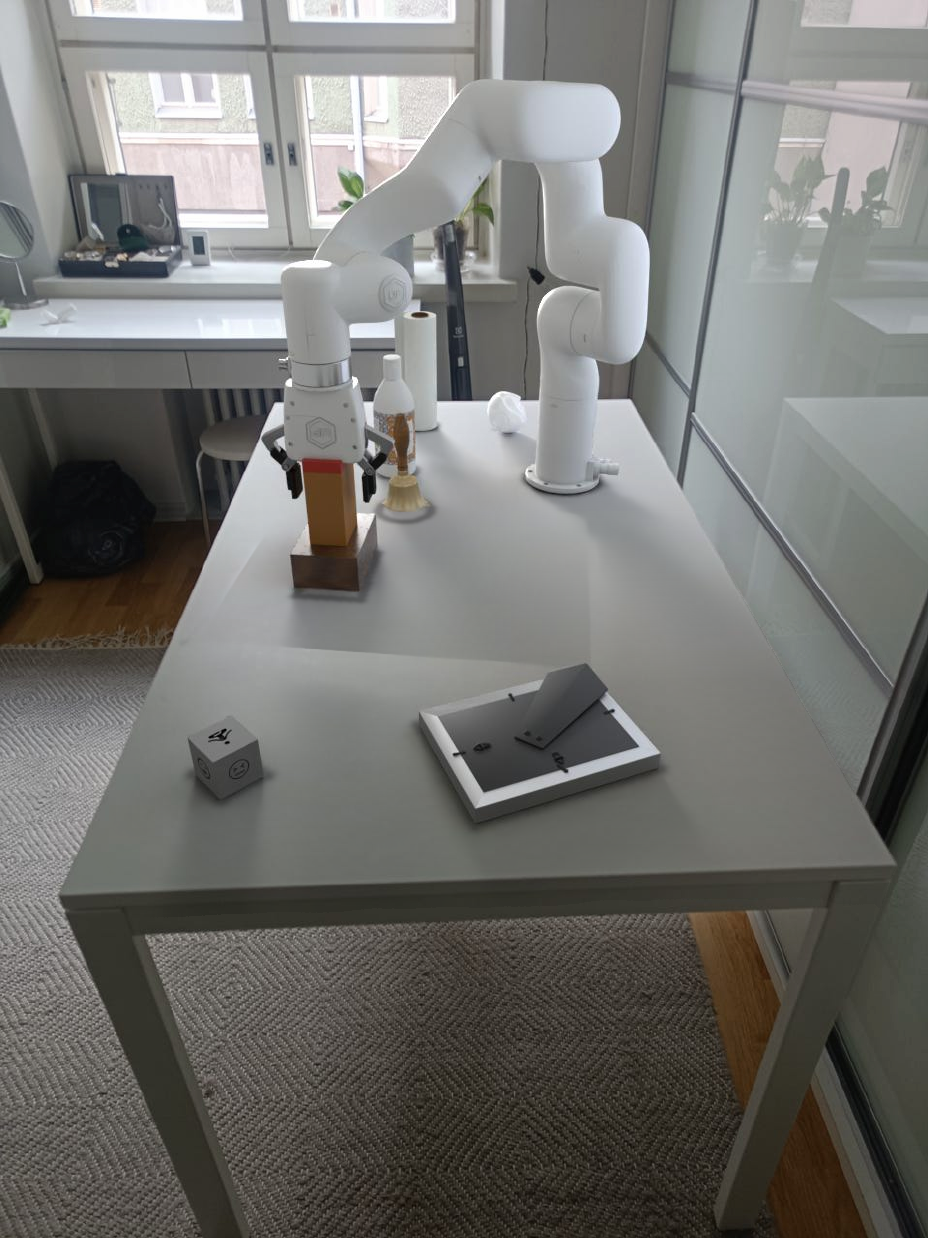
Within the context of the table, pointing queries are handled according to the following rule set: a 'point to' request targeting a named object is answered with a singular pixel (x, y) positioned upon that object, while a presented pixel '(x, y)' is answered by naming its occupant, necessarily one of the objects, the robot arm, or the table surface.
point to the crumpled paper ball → (506, 412)
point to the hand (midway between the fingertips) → (332, 496)
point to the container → (329, 501)
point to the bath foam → (394, 413)
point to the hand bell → (403, 473)
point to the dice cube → (226, 757)
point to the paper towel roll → (419, 363)
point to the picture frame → (535, 742)
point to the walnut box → (335, 559)
